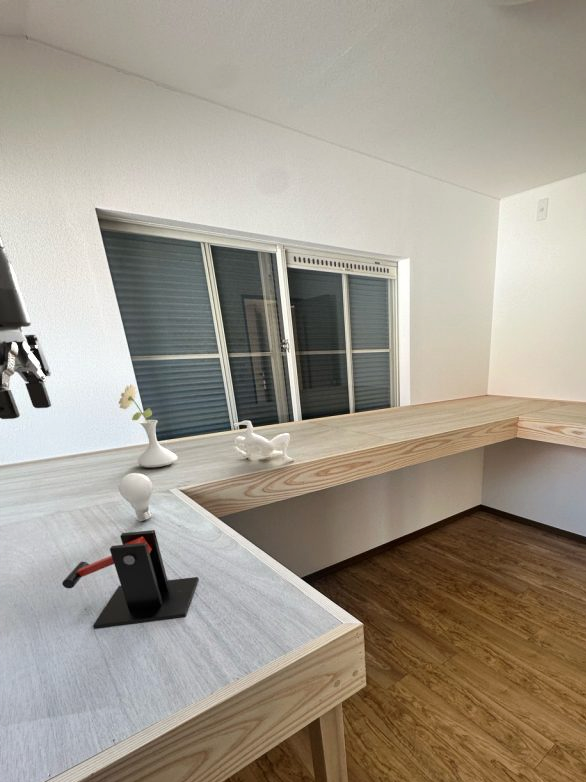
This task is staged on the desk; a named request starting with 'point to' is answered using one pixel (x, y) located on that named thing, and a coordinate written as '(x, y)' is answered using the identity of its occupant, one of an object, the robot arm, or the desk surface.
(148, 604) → the switch base
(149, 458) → the flower in vase
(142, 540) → the switch lever
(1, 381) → the robot arm
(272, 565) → the desk surface
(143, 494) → the lightbulb
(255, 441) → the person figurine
